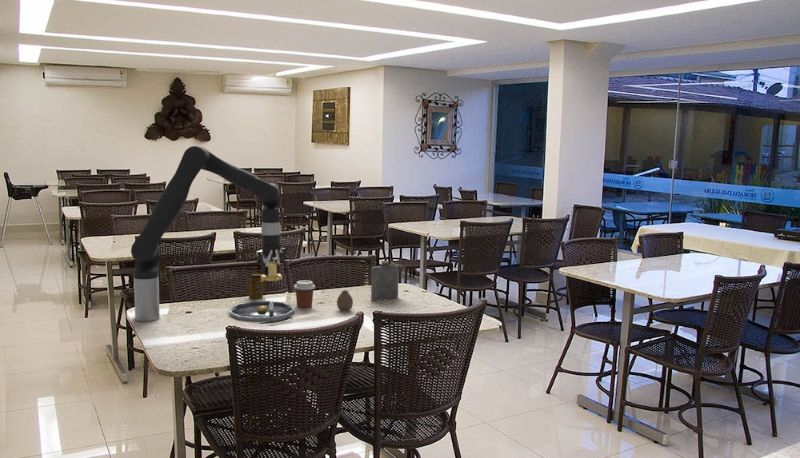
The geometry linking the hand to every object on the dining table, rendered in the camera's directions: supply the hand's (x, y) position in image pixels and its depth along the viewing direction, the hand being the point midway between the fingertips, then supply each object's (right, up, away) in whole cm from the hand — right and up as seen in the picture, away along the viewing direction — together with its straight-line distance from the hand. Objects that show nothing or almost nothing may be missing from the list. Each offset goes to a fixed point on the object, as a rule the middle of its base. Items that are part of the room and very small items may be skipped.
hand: (271, 274), depth 266 cm
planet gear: (0, -2, 0) cm, 2 cm away
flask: (+45, -15, +39) cm, 61 cm away
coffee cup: (+11, -17, +19) cm, 27 cm away
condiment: (-13, -14, +30) cm, 36 cm away
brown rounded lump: (+28, -17, +18) cm, 38 cm away
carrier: (-5, -18, +7) cm, 20 cm away
